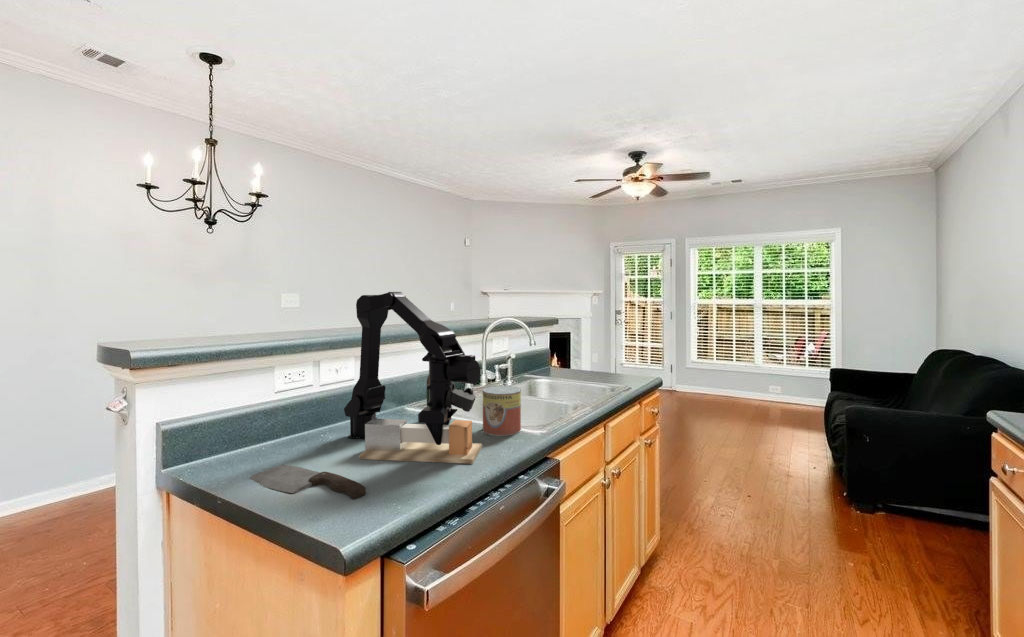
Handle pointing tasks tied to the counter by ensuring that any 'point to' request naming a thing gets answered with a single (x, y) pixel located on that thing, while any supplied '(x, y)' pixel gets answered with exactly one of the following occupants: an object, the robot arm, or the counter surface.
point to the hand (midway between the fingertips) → (441, 441)
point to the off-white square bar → (421, 433)
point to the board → (424, 453)
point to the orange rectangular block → (460, 437)
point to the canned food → (501, 410)
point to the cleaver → (306, 480)
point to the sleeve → (384, 435)
